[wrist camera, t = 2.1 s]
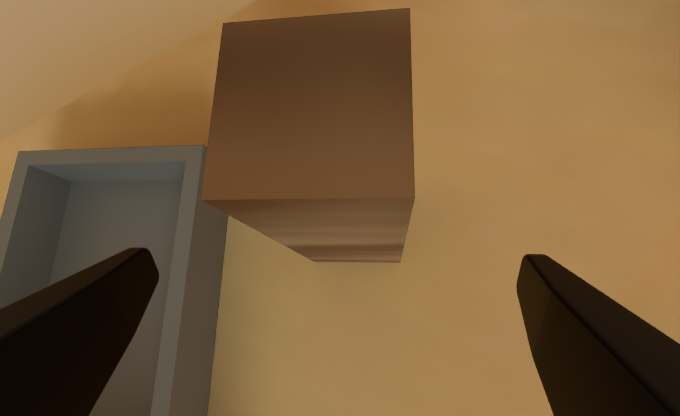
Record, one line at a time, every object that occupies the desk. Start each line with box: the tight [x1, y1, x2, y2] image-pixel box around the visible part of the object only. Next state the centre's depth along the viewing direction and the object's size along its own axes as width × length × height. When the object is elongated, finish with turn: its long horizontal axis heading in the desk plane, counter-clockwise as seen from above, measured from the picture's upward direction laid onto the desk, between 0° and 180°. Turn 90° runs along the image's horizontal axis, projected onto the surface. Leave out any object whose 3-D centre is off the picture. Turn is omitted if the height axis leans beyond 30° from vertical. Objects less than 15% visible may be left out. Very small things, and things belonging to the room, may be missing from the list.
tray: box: [0, 145, 228, 416], centre depth 18 cm, size 16×10×4 cm, turn 179°
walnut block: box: [201, 8, 415, 262], centre depth 14 cm, size 4×4×12 cm
